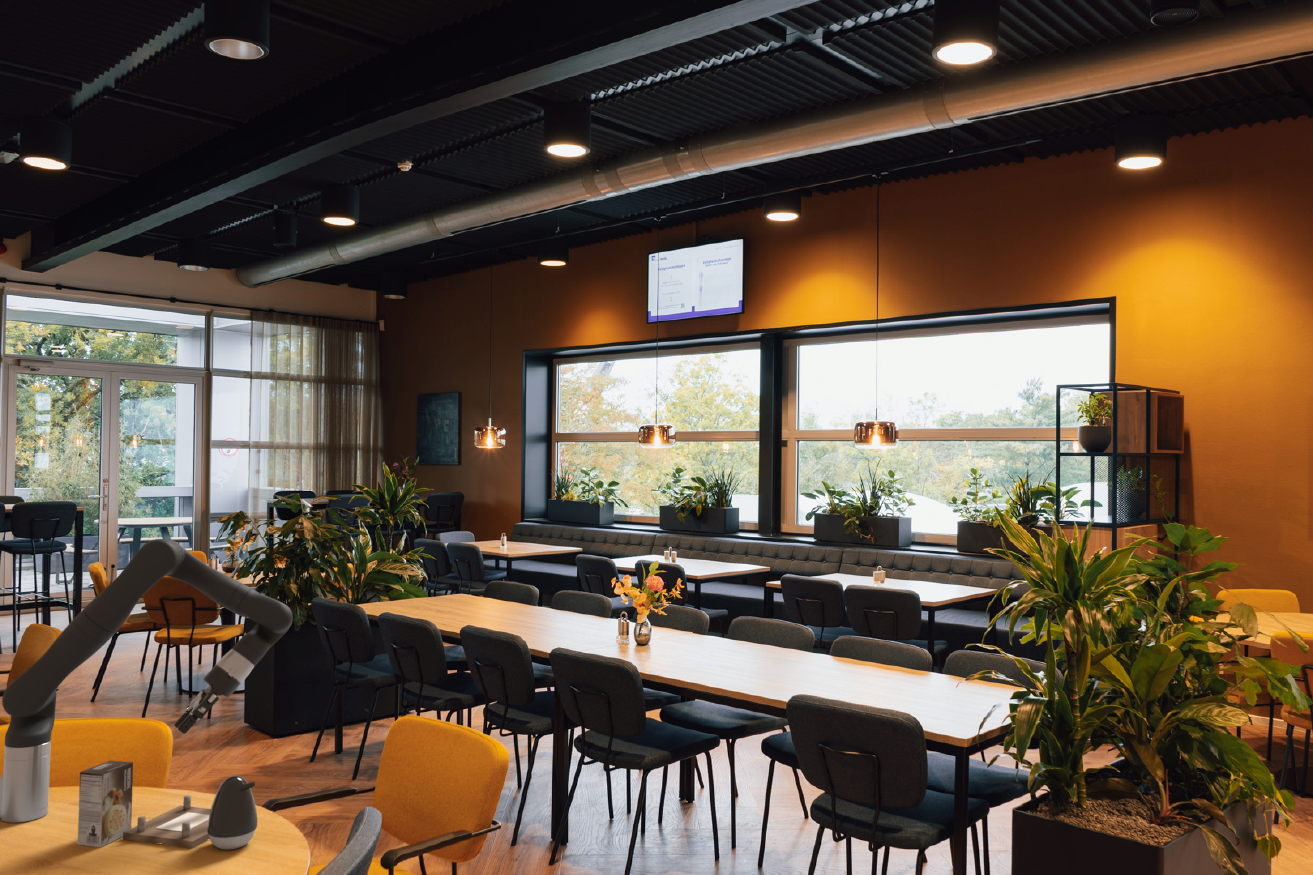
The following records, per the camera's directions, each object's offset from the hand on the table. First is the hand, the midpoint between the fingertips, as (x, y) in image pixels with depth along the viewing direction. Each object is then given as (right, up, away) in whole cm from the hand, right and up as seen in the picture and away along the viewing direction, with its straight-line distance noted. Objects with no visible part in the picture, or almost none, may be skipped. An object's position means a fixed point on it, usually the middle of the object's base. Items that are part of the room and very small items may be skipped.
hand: (179, 729), depth 227 cm
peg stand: (+4, -21, -5) cm, 22 cm away
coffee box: (-11, -21, -11) cm, 26 cm away
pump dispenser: (+18, -22, -13) cm, 31 cm away
